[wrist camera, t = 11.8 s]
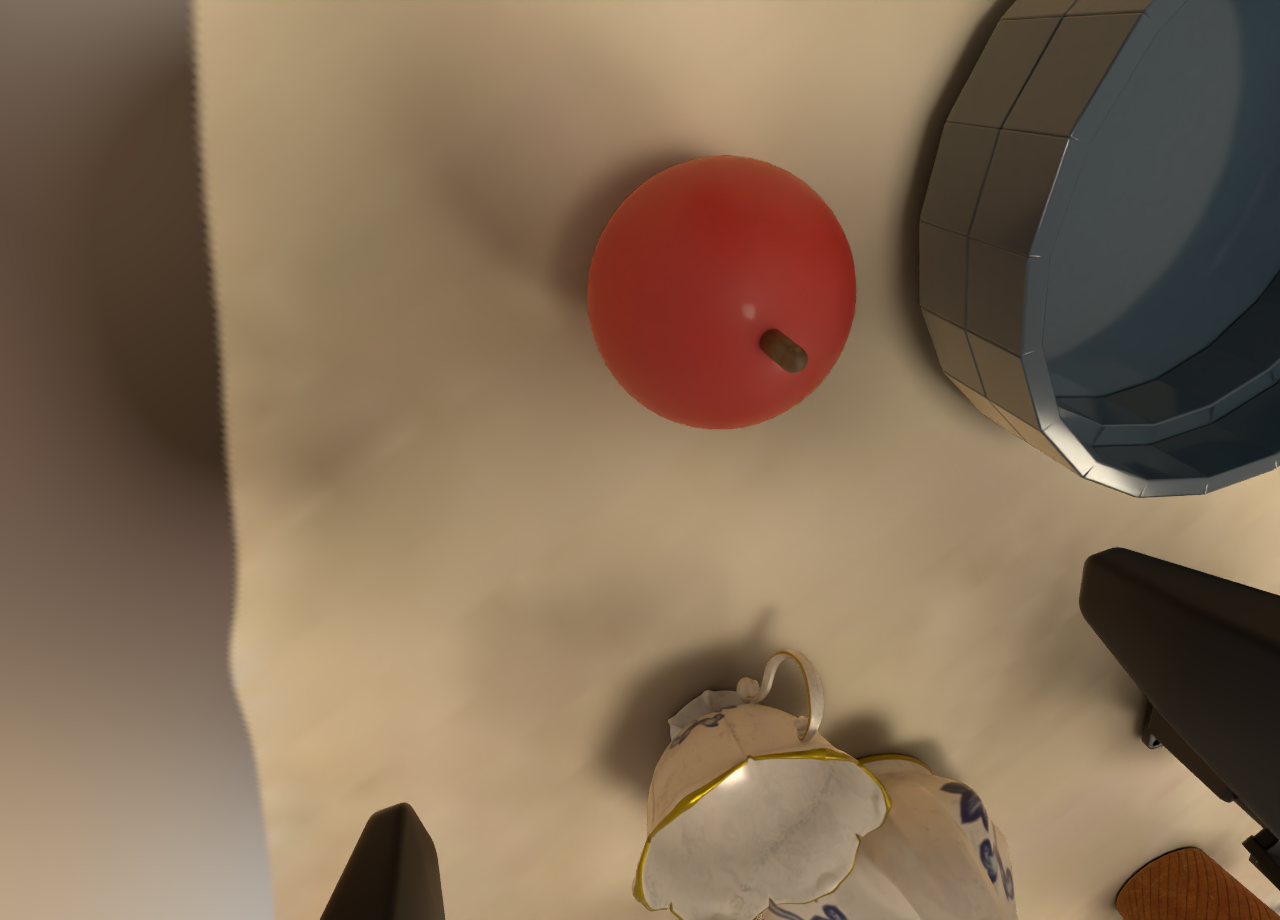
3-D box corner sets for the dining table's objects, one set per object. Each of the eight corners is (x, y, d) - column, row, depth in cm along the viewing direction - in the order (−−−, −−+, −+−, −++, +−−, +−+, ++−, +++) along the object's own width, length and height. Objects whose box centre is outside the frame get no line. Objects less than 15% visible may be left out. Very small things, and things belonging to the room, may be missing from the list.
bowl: (1443, -197, 19) (1742, -271, 14) (1290, 349, 27) (1455, 406, 22) (896, -66, 17) (1053, -104, 13) (906, 477, 25) (1005, 565, 21)
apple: (774, 114, 18) (953, 145, 12) (796, 338, 21) (948, 454, 15) (538, 177, 17) (601, 244, 11) (597, 398, 21) (671, 546, 14)
